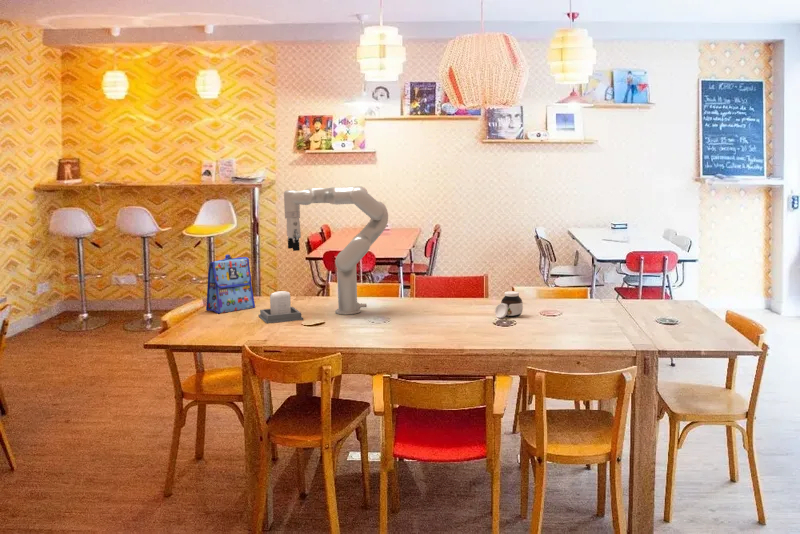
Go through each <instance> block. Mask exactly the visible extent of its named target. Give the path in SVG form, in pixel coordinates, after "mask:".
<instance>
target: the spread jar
mask: <svg viewBox="0 0 800 534" xmlns="http://www.w3.org/2000/svg"><path fill="white" fill-rule="evenodd" d="M523 305H524V304H523V300H522V298H521V296H520V292H519V291H515V290H514V291H513V290H510V291H508V290H507V291H505V292H504V297H503V298H502V299H501V301H500V303H498V304H497V305H496V307H495V310H494V313H495V316H496V317H497V318H499V319H503V318H510V319H513V318H514V319H515V318H519V317H520V316H521V315H522V314H523V309H524V308H523V307H524V306H523Z"/></svg>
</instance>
